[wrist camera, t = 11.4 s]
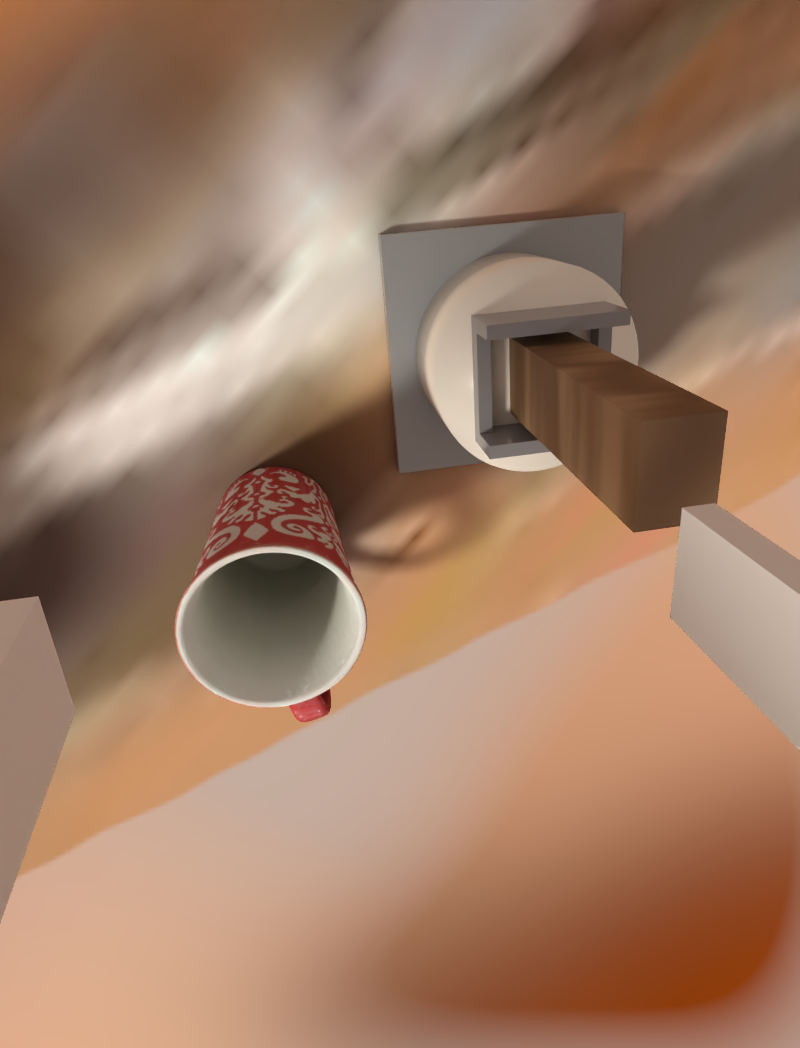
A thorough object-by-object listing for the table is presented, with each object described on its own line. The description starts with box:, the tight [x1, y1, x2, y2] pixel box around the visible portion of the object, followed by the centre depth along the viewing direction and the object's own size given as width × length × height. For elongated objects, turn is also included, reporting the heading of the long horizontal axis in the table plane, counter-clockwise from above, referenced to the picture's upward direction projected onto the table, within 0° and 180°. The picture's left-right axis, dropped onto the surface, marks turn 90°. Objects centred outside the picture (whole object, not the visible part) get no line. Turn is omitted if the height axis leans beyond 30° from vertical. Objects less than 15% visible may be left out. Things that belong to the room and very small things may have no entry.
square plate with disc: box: [378, 212, 639, 473], centre depth 40 cm, size 14×14×10 cm
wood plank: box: [509, 332, 728, 532], centre depth 31 cm, size 3×4×15 cm
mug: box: [175, 467, 367, 722], centre depth 41 cm, size 13×9×14 cm
